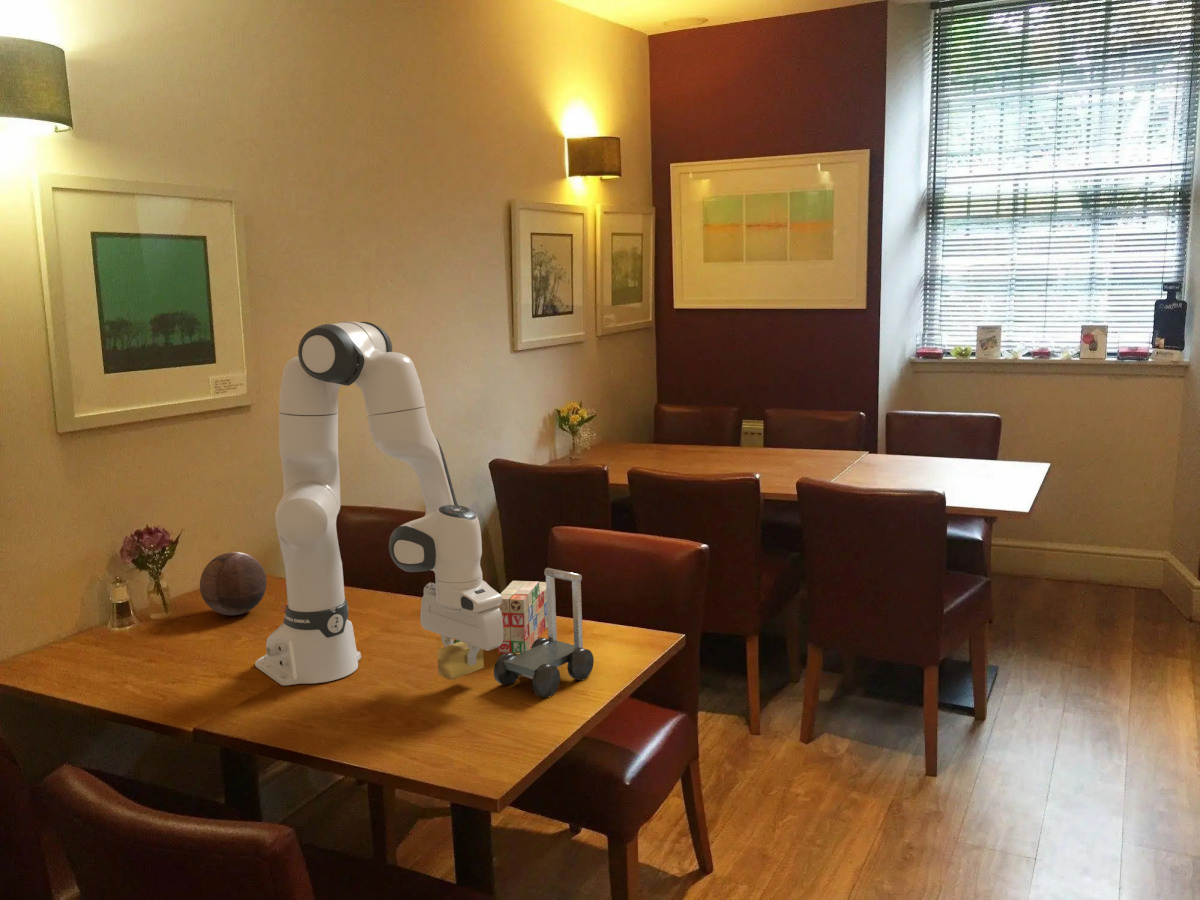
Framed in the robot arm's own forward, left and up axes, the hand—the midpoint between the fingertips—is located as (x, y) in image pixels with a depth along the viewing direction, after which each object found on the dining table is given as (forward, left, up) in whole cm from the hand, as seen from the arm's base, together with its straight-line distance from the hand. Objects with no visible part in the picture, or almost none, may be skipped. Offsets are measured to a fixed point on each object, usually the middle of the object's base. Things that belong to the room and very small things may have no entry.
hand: (461, 660), depth 192 cm
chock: (0, 0, -2) cm, 2 cm away
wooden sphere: (-78, -1, -6) cm, 78 cm away
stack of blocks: (-9, +27, -6) cm, 29 cm away
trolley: (+11, +11, -5) cm, 17 cm away
